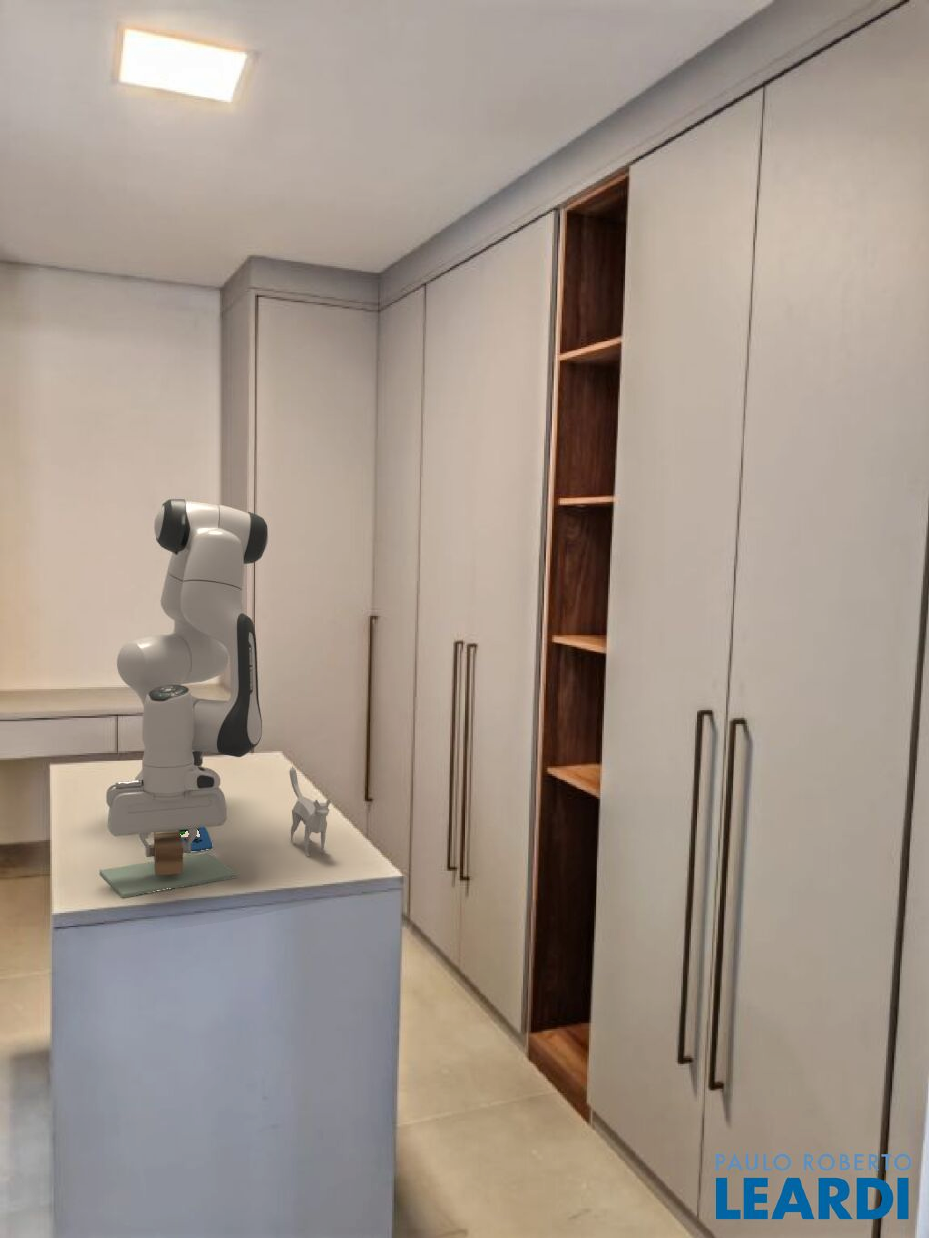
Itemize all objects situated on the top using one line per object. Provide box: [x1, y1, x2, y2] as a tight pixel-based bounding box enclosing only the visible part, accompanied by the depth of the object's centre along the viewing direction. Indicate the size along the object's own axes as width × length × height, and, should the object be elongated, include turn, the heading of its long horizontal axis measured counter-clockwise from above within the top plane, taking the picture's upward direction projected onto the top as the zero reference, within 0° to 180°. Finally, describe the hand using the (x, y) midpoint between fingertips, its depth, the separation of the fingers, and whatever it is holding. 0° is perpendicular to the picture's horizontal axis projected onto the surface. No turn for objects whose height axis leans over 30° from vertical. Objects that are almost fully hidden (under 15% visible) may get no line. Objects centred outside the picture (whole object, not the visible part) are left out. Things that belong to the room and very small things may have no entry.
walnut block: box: [153, 830, 184, 875], centre depth 180 cm, size 11×4×5 cm, turn 19°
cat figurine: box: [288, 765, 332, 857], centre depth 198 cm, size 4×20×14 cm, turn 28°
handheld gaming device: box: [180, 827, 214, 852], centre depth 201 cm, size 8×1×15 cm
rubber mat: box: [99, 852, 237, 898], centre depth 180 cm, size 14×20×1 cm
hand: (168, 854), depth 180 cm, fingers closed on walnut block, 5 cm apart
